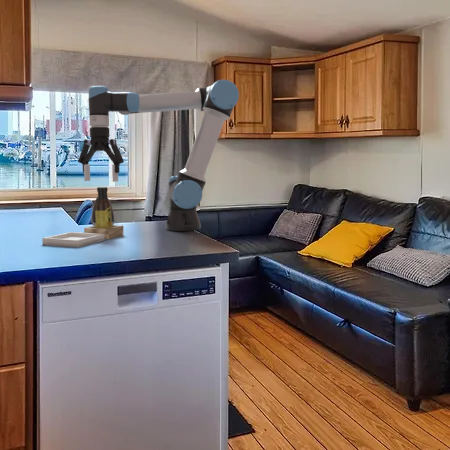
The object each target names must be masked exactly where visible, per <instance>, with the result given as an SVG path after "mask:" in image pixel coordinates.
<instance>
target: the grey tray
mask: <svg viewBox="0 0 450 450" xmlns="http://www.w3.org/2000/svg"><path fill="white" fill-rule="evenodd" d="M41 239H42V246H43V245H44V246H55V247H56V246H57V247H66V248H67V247H68V248H69V247H70V248H80V247H84V246H88V245H93V244H96V243H100V242H103V241H105V239H104V234H96V233H84V232H80V231H79V232H76V231H69V232H66V233H65V232H64V233H60V234H55V235H51V236H46V237H45V236H44V237H42V238H41Z"/></svg>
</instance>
